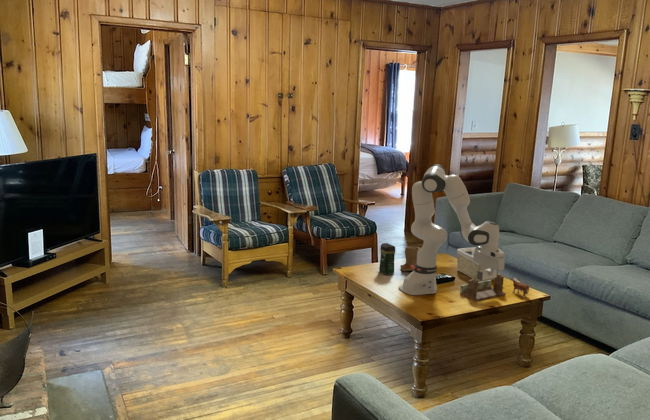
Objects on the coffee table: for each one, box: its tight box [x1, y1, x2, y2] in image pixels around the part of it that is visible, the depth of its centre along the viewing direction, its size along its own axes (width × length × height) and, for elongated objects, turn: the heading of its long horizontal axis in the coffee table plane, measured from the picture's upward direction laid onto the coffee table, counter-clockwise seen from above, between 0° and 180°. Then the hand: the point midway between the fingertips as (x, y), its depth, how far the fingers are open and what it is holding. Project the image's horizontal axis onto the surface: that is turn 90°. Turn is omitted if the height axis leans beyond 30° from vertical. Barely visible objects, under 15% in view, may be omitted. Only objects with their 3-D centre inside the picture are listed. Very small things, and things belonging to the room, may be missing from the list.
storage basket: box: [456, 246, 494, 282], centre depth 340 cm, size 24×16×15 cm
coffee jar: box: [378, 242, 396, 275], centre depth 338 cm, size 10×8×19 cm
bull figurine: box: [510, 277, 530, 298], centre depth 310 cm, size 4×13×8 cm, turn 21°
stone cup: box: [400, 246, 421, 272], centre depth 346 cm, size 15×12×15 cm
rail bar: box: [477, 269, 499, 282], centre depth 304 cm, size 12×4×4 cm, turn 119°
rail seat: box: [459, 273, 506, 302], centre depth 307 cm, size 23×12×11 cm, turn 119°
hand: (487, 273), depth 304 cm, fingers closed on rail bar, 3 cm apart
